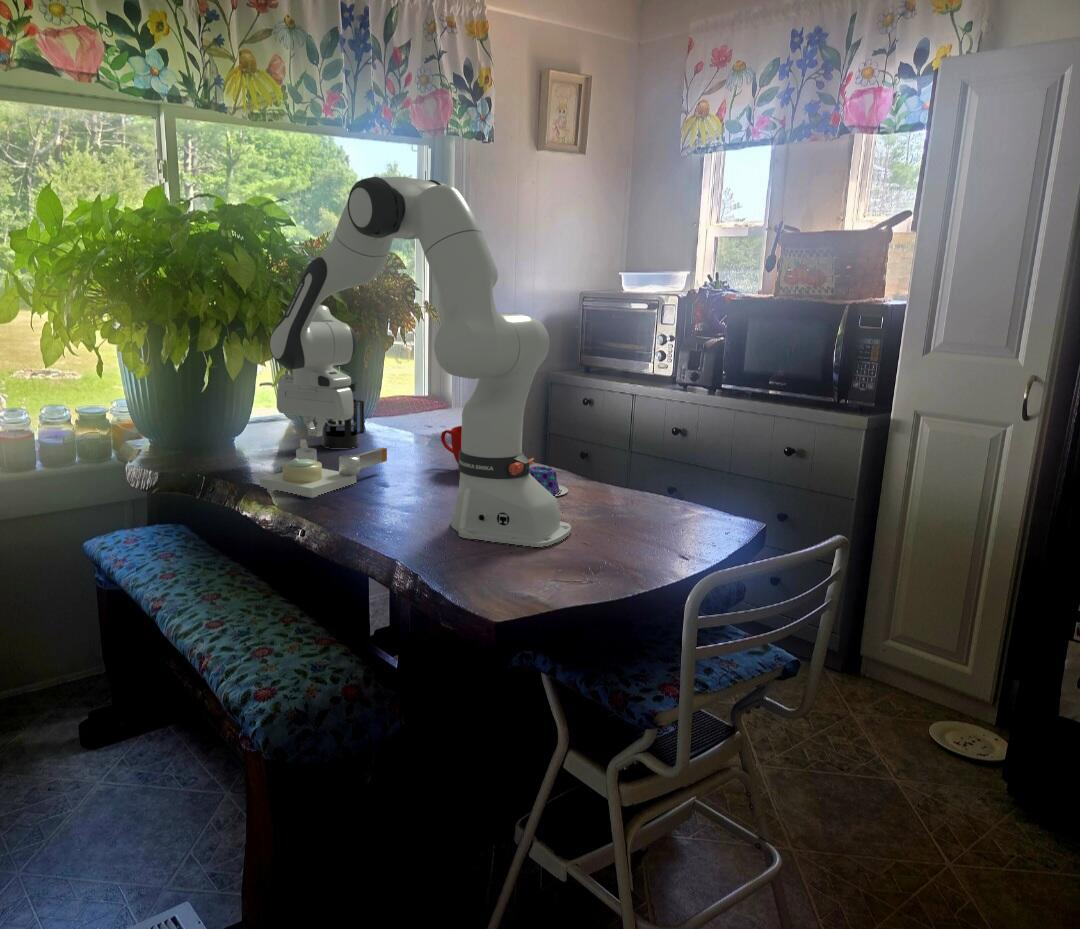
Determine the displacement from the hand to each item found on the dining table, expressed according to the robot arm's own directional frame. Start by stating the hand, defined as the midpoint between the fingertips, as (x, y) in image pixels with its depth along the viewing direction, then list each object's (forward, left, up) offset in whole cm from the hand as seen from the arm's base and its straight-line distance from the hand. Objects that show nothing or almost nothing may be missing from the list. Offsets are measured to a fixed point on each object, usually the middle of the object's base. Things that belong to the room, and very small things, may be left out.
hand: (315, 435), depth 188 cm
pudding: (-53, -11, -8) cm, 55 cm away
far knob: (-1, +4, -5) cm, 7 cm away
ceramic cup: (-31, -18, -8) cm, 37 cm away
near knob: (-16, +3, -5) cm, 17 cm away
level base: (-10, +14, -7) cm, 19 cm away
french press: (+10, -21, -8) cm, 24 cm away
